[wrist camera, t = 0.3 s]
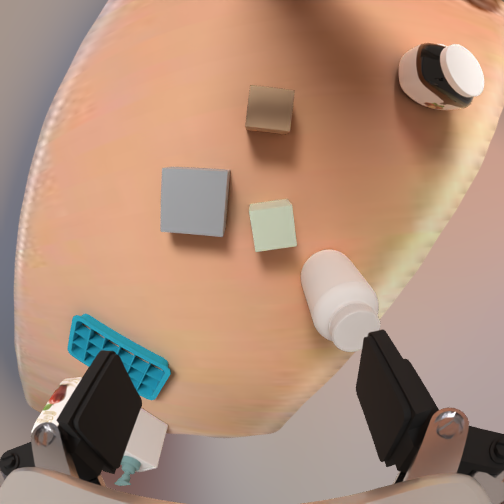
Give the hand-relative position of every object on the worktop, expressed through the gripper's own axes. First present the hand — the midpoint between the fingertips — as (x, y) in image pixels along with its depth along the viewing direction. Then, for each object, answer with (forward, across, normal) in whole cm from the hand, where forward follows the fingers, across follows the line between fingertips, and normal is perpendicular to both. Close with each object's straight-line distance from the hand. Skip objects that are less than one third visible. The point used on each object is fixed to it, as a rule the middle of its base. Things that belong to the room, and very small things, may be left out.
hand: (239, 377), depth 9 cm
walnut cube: (+29, -4, -13) cm, 32 cm away
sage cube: (+29, -3, +1) cm, 29 cm away
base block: (+30, +7, -3) cm, 30 cm away
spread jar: (+29, -29, -20) cm, 46 cm away
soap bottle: (+30, +31, +45) cm, 62 cm away
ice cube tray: (+30, +28, +23) cm, 47 cm away
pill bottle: (+30, -10, +10) cm, 33 cm away
